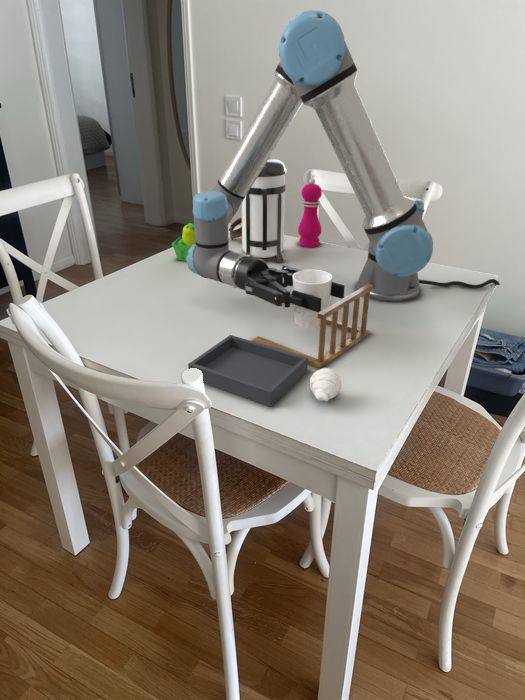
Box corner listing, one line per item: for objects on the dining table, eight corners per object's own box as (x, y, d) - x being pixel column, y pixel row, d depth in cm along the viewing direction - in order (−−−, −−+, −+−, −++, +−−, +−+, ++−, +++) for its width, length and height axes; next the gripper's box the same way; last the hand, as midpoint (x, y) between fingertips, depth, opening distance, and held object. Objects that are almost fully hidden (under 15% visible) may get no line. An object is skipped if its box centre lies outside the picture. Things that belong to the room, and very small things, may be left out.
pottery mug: (263, 246, 167) (250, 225, 162) (236, 257, 171) (223, 237, 166) (265, 226, 176) (253, 205, 171) (240, 236, 179) (228, 217, 174)
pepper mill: (324, 246, 166) (328, 180, 156) (302, 248, 164) (305, 181, 154) (315, 239, 172) (319, 175, 162) (294, 241, 170) (296, 176, 160)
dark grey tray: (307, 371, 101) (308, 357, 100) (270, 406, 91) (270, 392, 90) (230, 347, 109) (230, 334, 108) (188, 377, 99) (187, 363, 98)
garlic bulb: (305, 409, 91) (306, 382, 88) (310, 390, 96) (311, 364, 93) (337, 413, 90) (340, 386, 87) (340, 393, 95) (343, 367, 92)
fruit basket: (218, 256, 158) (216, 218, 152) (208, 266, 150) (206, 226, 145) (181, 253, 160) (178, 215, 155) (170, 263, 153) (167, 223, 147)
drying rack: (305, 313, 124) (308, 266, 118) (368, 334, 115) (374, 285, 109) (254, 342, 111) (254, 292, 106) (319, 368, 102) (323, 315, 97)
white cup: (304, 310, 116) (305, 266, 112) (336, 319, 112) (339, 274, 108) (284, 323, 111) (284, 278, 106) (317, 333, 107) (319, 287, 102)
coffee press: (224, 256, 157) (220, 148, 143) (264, 245, 167) (264, 142, 152) (264, 272, 146) (265, 157, 132) (304, 259, 156) (309, 150, 141)
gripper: (273, 275, 127) (357, 299, 115) (213, 302, 113) (300, 334, 101) (273, 244, 124) (360, 266, 111) (211, 269, 110) (302, 297, 97)
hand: (331, 298), depth 106 cm, fingers closed on white cup, 8 cm apart
